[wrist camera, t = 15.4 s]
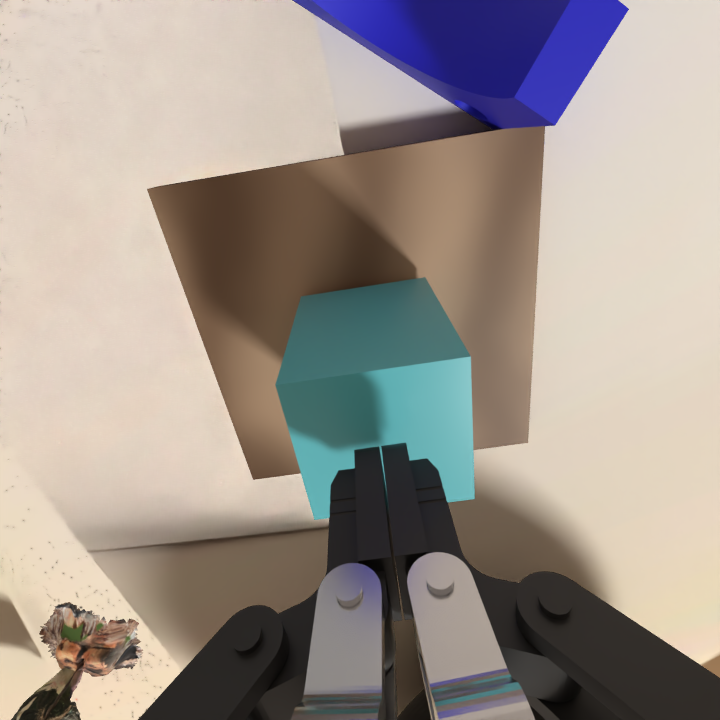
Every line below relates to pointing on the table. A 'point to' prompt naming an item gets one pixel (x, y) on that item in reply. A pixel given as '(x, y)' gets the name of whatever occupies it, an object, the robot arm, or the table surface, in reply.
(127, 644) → the plant with pod
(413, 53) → the cable clip
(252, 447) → the walnut board
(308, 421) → the aqua box
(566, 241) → the table surface
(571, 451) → the table surface
